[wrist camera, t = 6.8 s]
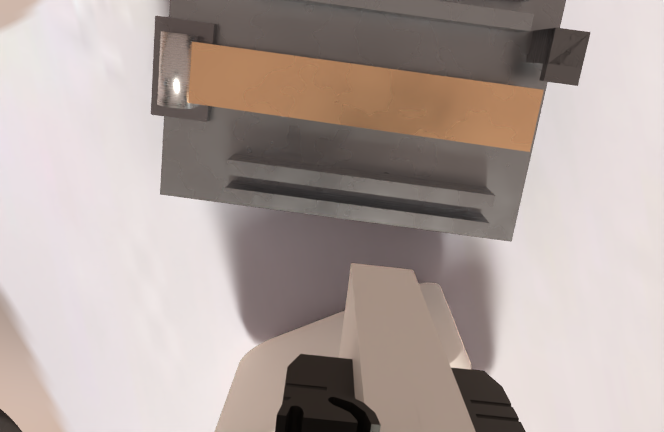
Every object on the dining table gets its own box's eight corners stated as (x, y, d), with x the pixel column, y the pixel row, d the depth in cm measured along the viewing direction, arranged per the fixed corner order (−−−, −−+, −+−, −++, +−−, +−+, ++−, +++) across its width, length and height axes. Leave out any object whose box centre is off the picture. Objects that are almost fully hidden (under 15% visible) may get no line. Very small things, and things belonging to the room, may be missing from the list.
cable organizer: (445, 264, 39) (484, 349, 28) (498, 393, 41) (552, 520, 30) (243, 342, 41) (203, 451, 30) (304, 461, 43) (289, 603, 32)
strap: (165, 102, 31) (151, 104, 29) (168, 32, 30) (155, 30, 28) (522, 153, 30) (530, 159, 28) (538, 82, 29) (547, 83, 27)
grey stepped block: (176, 175, 38) (129, 208, 30) (190, -60, 34) (140, -95, 26) (495, 218, 38) (535, 262, 30) (544, -11, 34) (605, -31, 26)
